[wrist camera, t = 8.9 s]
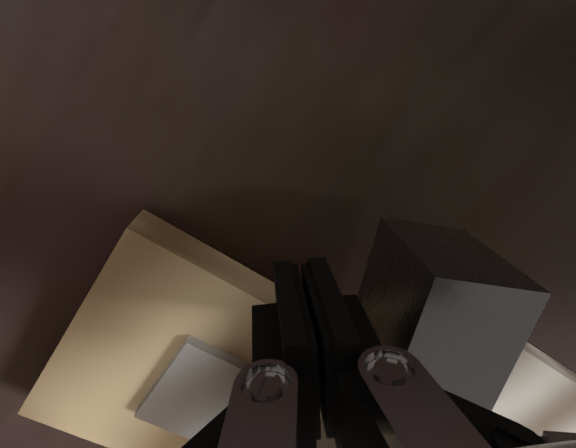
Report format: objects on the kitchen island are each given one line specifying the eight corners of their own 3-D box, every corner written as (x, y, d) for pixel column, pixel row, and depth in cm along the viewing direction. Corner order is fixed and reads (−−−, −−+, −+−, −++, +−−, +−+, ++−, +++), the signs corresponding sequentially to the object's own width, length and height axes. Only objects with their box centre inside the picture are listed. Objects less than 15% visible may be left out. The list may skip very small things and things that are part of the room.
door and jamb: (609, 396, 20) (655, 437, 18) (399, 569, 25) (413, 619, 23) (194, 123, 13) (180, 131, 11) (12, 431, 18) (-25, 483, 16)
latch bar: (359, 480, 18) (392, 609, 13) (295, 476, 17) (307, 608, 13) (456, 223, 13) (555, 294, 9) (372, 209, 13) (431, 276, 8)
